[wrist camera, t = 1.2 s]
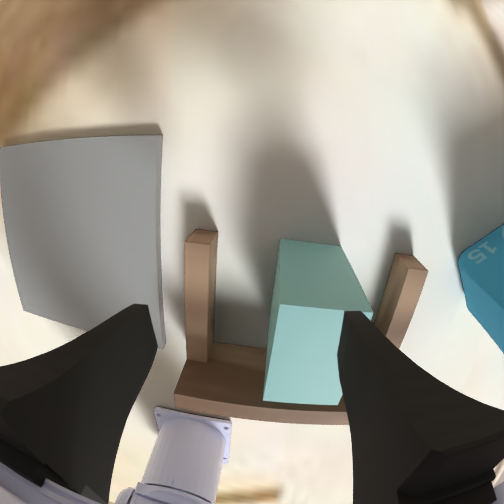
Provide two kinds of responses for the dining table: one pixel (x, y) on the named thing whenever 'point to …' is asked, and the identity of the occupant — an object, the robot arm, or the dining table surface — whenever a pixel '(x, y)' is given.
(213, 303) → the bay
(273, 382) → the block
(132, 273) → the board
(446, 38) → the dining table surface
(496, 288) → the data package
